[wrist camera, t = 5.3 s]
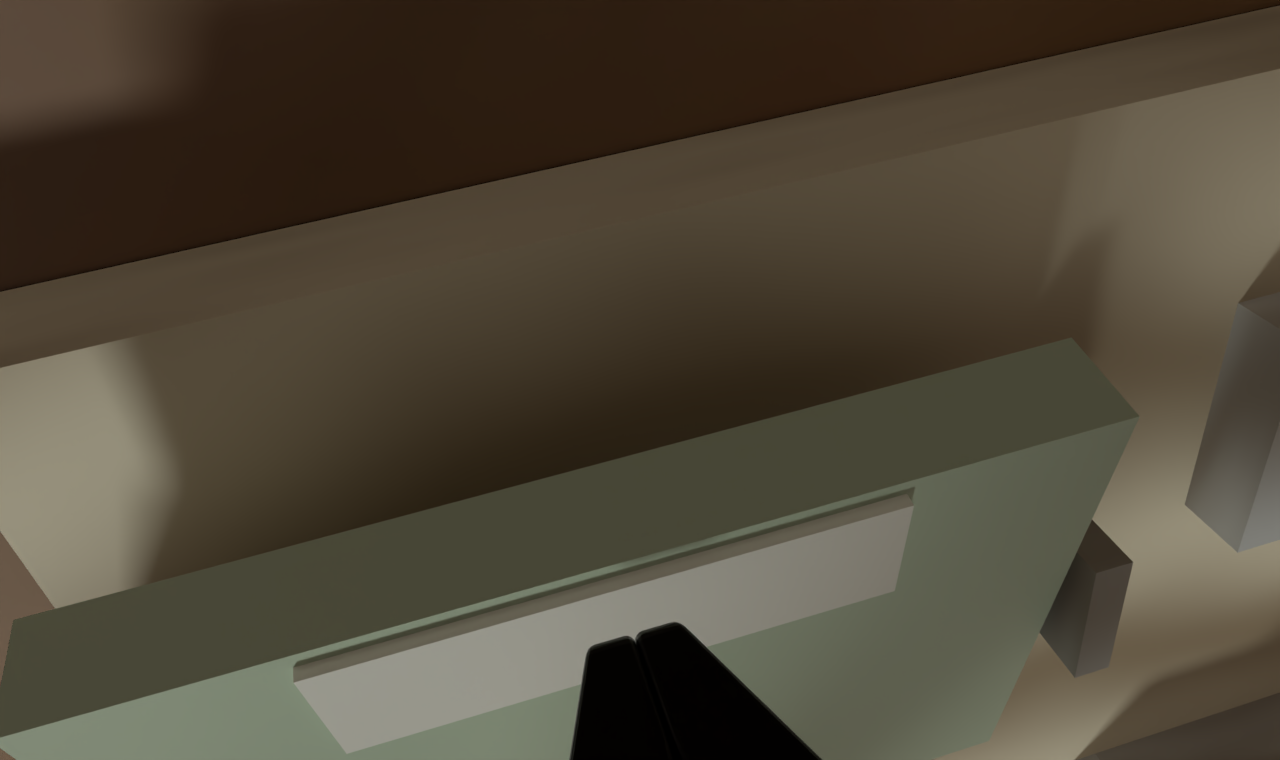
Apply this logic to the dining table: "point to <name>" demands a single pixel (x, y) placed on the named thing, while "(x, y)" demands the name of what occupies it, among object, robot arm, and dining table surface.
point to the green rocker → (623, 592)
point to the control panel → (732, 354)
